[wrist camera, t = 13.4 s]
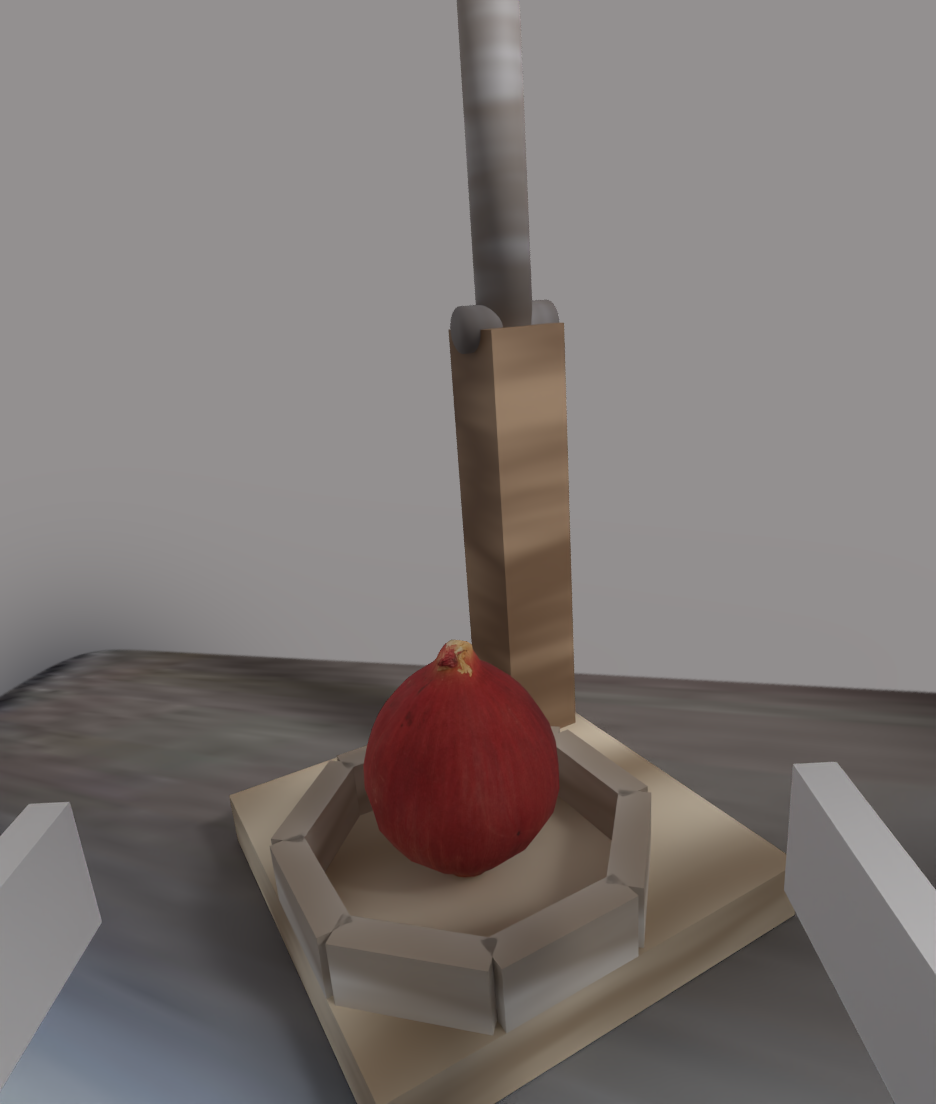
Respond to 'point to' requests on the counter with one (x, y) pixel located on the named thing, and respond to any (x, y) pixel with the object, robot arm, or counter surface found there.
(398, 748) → the onion
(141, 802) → the counter surface
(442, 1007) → the press
